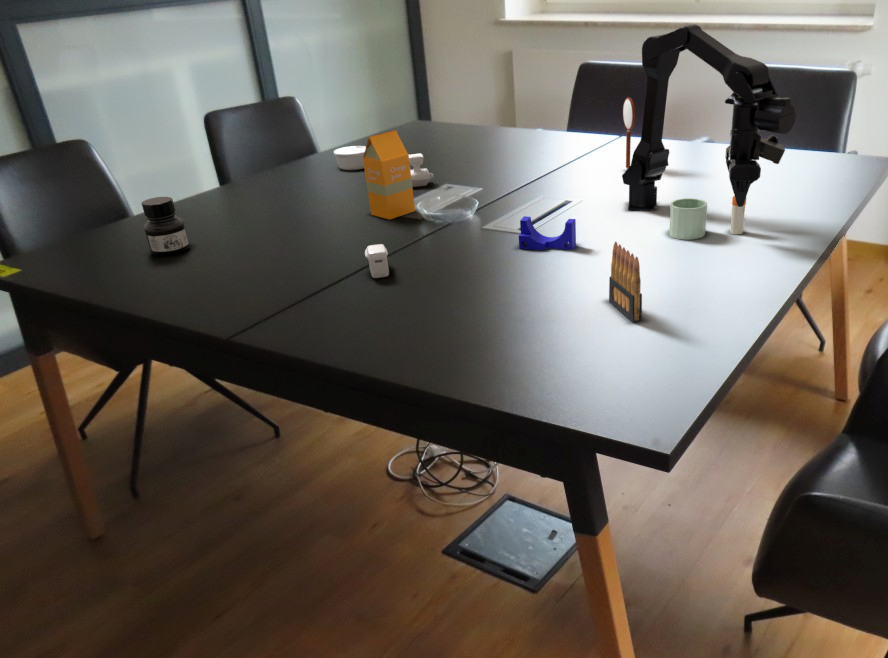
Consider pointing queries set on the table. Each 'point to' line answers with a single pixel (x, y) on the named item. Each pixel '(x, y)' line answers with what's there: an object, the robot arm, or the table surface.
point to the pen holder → (688, 218)
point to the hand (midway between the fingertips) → (738, 200)
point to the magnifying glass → (628, 125)
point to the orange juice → (388, 176)
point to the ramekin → (350, 157)
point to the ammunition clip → (625, 284)
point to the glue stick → (737, 217)
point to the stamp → (419, 171)
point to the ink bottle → (164, 227)
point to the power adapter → (377, 260)
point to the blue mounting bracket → (539, 242)
